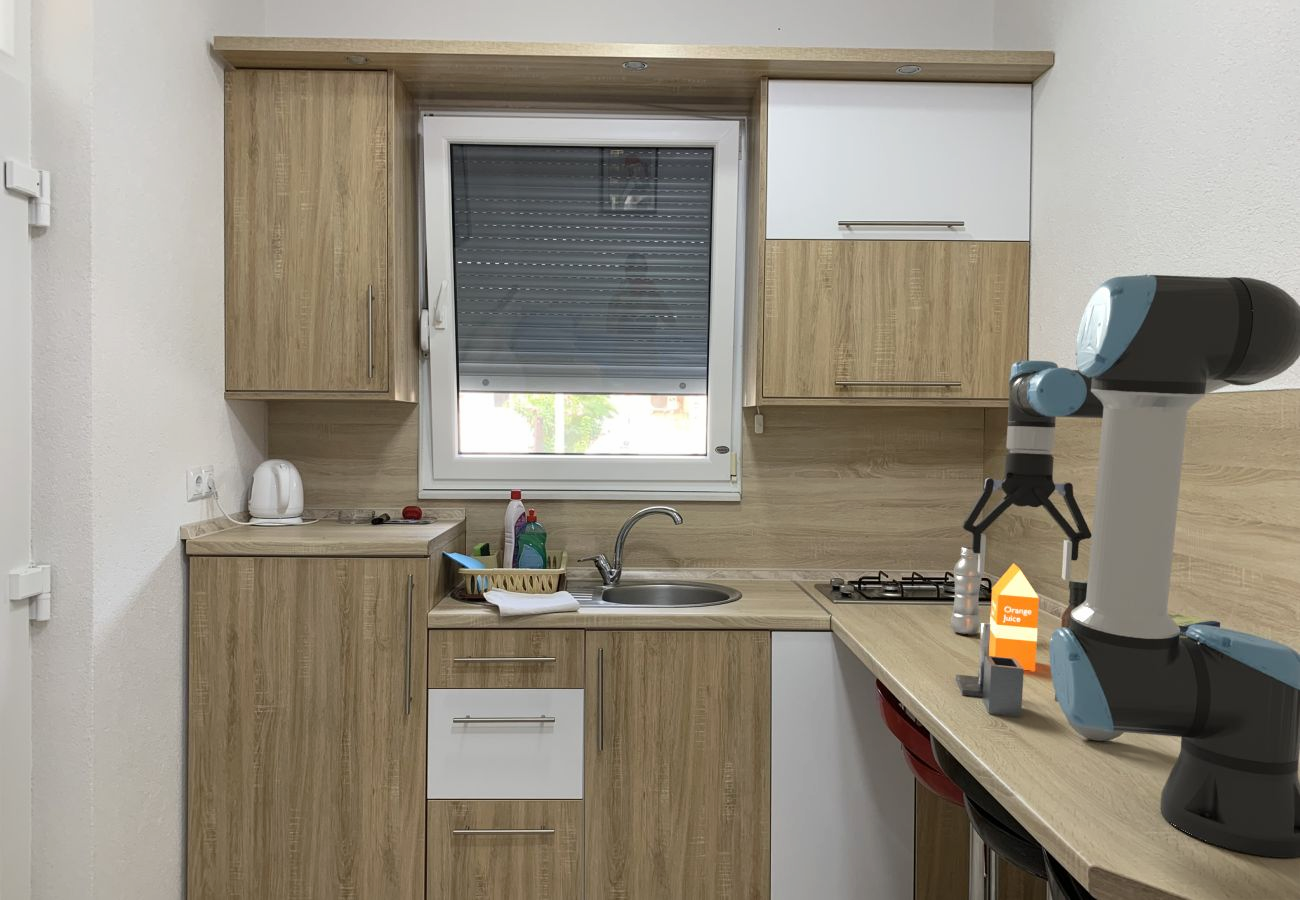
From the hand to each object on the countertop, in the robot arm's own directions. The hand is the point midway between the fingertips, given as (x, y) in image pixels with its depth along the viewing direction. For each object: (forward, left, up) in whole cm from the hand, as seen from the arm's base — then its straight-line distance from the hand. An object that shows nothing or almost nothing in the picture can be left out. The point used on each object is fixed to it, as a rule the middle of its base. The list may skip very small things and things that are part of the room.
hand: (1022, 576), depth 150 cm
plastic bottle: (+53, +2, -22) cm, 58 cm away
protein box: (+10, -25, -22) cm, 35 cm away
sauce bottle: (+14, -13, -22) cm, 29 cm away
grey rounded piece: (-16, -9, -22) cm, 29 cm away
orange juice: (+28, -4, -22) cm, 36 cm away
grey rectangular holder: (-5, +3, -22) cm, 23 cm away
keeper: (+6, +5, -22) cm, 23 cm away
